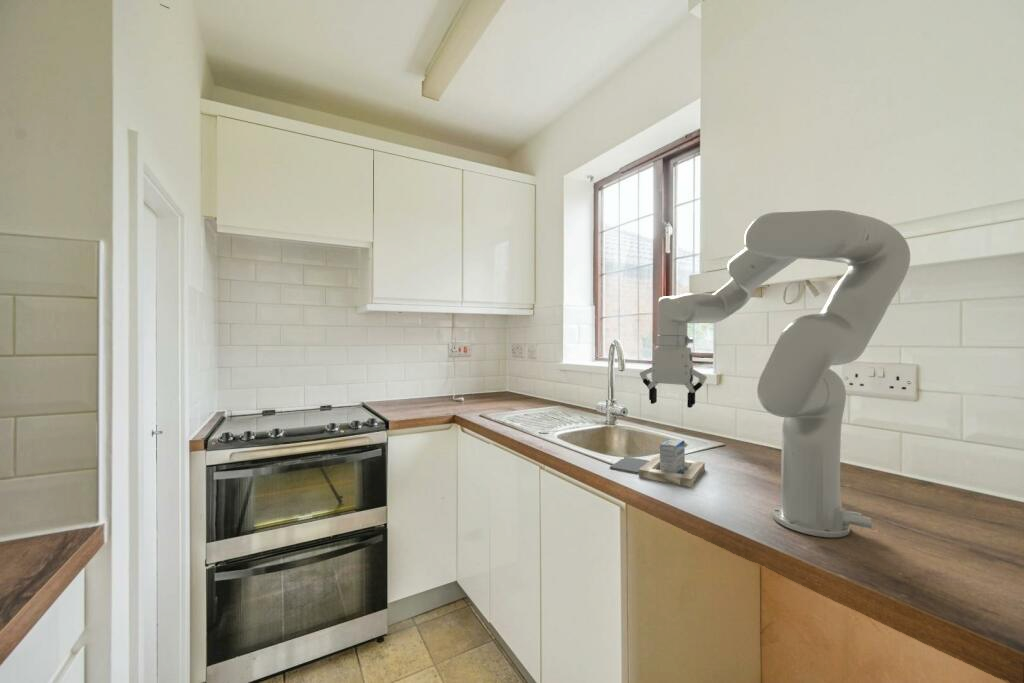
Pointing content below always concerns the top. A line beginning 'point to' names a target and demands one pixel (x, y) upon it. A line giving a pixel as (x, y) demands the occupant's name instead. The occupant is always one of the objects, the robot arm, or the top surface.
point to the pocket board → (686, 479)
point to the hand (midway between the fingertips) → (671, 404)
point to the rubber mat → (629, 464)
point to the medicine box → (672, 456)
